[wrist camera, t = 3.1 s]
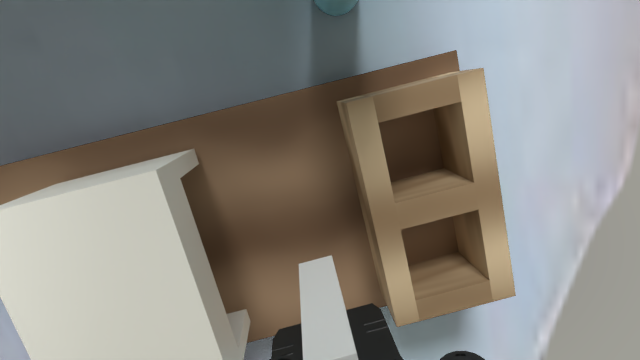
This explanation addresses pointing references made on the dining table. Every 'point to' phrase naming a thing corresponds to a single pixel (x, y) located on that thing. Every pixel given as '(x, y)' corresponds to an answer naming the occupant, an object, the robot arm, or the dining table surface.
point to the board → (333, 192)
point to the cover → (115, 270)
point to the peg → (335, 6)
